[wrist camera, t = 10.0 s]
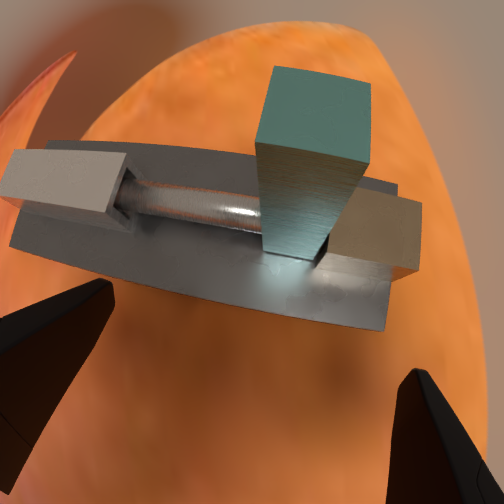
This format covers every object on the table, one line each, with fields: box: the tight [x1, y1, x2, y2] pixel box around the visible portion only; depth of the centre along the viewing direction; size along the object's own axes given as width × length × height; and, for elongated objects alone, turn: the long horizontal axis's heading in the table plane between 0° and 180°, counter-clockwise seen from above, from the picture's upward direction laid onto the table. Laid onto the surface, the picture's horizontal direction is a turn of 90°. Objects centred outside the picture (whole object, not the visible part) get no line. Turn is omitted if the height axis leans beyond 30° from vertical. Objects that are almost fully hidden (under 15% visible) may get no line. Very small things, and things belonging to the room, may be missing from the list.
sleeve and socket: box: [0, 140, 422, 332], centre depth 19 cm, size 29×10×5 cm, turn 78°
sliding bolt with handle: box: [113, 66, 371, 260], centre depth 14 cm, size 18×3×12 cm, turn 78°
